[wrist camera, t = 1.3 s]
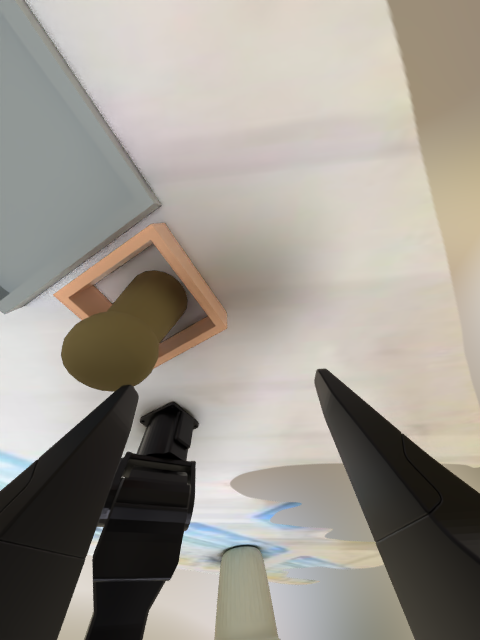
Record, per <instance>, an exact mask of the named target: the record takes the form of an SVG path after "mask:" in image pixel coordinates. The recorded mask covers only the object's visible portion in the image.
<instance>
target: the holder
mask: <svg viewBox="0 0 480 640" xmlns="http://www.w3.org/2000/svg"><path fill="white" fill-rule="evenodd" d="M152 244H154V245H155V246H156V247H157V249H158V250H159V251H160V253H161V254H162V255H163V257H164V258H165V259H166V261H167V262H168V263H169V265H170V266H171V267H172V269H173V270H174V271H175V273H176V274H177V275H178V277H179V278H180V279H181V281H182V282H183V283H184V284H185V286H186V287H187V288H188V290H189V291H190V292H191V294H192V295H193V296H194V298H195V299H196V300H197V302H198V303H199V304H200V306H201V307H202V308H203V310H204V311H205V312H206V314H207V315H208V316H207V317H205V318H204V319H202V320H200V321H198V322H197V323H195V324H193V325H191V326H190V327H188V328H186V329H184V330H183V331H181V332H179V333H177V334H176V335H174V336H172V337H170V338H169V339H167V340H165V341H163V342H162V343H160V344H159V353H158V360H157V362H156V364H155V366H154V368H155V367H157V366H159V365H161V364H163V363H165V362H166V361H168V360H170V359H172V358H174V357H176V356H177V355H179V354H181V353H183V352H185V351H187V350H188V349H190V348H192V347H194V346H196V345H198V344H199V343H201V342H203V341H205V340H207V339H209V338H210V337H212V336H214V335H216V334H218V333H220V332H221V331H223V330H225V329H227V312H226V311H225V309H224V308H223V307H222V305H221V304H220V302H219V301H218V299H217V298H216V296H215V295H214V294H213V292H212V291H211V289H210V288H209V286H208V285H207V284H206V282H205V281H204V279H203V278H202V276H201V275H200V273H199V272H198V271H197V269H196V268H195V266H194V265H193V263H192V262H191V260H190V259H189V258H188V256H187V255H186V253H185V252H184V250H183V249H182V247H181V246H180V245H179V243H178V242H177V240H176V239H175V237H174V236H173V234H172V233H171V232H170V230H169V229H168V227H167V226H166V224H165V223H156V224H150V225H149V226H148V227H146V228H145V229H144V230H142V231H141V232H139V233H138V234H137V235H135V236H134V237H132V238H131V239H130V240H128V241H127V242H125V243H124V244H123V245H121V246H120V247H119V248H117V249H116V250H114V251H113V252H112V253H110V254H109V255H107V256H106V257H105V258H103V259H102V260H101V261H99V262H98V263H96V264H95V265H94V266H92V267H91V268H89V269H88V270H87V271H85V272H84V273H83V274H81V275H80V276H78V277H77V278H76V279H74V280H73V281H71V282H70V283H69V284H67V285H66V286H64V287H63V288H62V289H60V290H59V291H58V292H56V293H55V294H53V296H55V297H56V298H57V299H58V300H59V301H60V302H62V303H63V304H64V305H65V306H66V307H67V308H69V309H70V310H71V311H72V312H73V313H74V314H75V315H77V316H78V317H79V318H80V319H81V320H83V319H86V318H88V317H90V316H92V315H94V314H98V313H101V312H107V311H108V309H109V308H110V307H111V306H112V305H113V304H112V303H111V302H110V301H109V300H108V299H107V298H106V297H105V296H104V295H103V294H102V293H101V292H100V291H98V290H97V289H96V288H95V287H94V286H93V285H94V284H96V283H97V282H99V281H100V280H101V279H103V278H104V277H106V276H107V275H109V274H110V273H112V272H113V271H114V270H116V269H117V268H119V267H120V266H122V265H123V264H124V263H126V262H127V261H129V260H130V259H132V258H133V257H135V256H136V255H137V254H139V253H140V252H142V251H143V250H145V249H146V248H147V247H149V246H150V245H152ZM154 368H153V369H154Z"/></svg>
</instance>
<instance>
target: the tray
mask: <svg viewBox="0 0 480 640" xmlns="http://www.w3.org/2000/svg"><path fill="white" fill-rule="evenodd" d="M160 206H161V203H160V202H159V200H158V199H157V197H156V196H155V194H154V193H153V191H152V190H151V188H150V187H149V185H148V184H147V182H146V181H145V179H144V178H143V176H142V175H141V174H140V172H139V171H138V169H137V168H136V166H135V165H134V163H133V162H132V160H131V159H130V157H129V156H128V154H127V153H126V151H125V150H124V148H123V147H122V145H121V144H120V142H119V141H118V139H117V138H116V136H115V135H114V133H113V132H112V130H111V129H110V127H109V126H108V124H107V123H106V121H105V120H104V118H103V117H102V115H101V114H100V112H99V111H98V109H97V108H96V106H95V105H94V103H93V102H92V101H91V99H90V98H89V96H88V95H87V93H86V92H85V90H84V89H83V87H82V86H81V84H80V83H79V81H78V80H77V78H76V77H75V75H74V74H73V72H72V71H71V69H70V68H69V66H68V65H67V63H66V62H65V60H64V59H63V57H62V56H61V54H60V53H59V51H58V50H57V48H56V47H55V45H54V44H53V42H52V41H51V39H50V38H49V36H48V35H47V33H46V32H45V30H44V29H43V28H42V26H41V25H40V23H39V22H38V20H37V19H36V17H35V16H34V14H33V13H32V11H31V10H30V8H29V7H28V5H27V4H26V2H25V1H24V0H0V311H1V312H2V313H4V314H7V313H9V312H11V311H14V310H16V309H18V308H21V307H23V306H25V305H26V304H28V303H29V302H30V301H32V300H33V299H34V298H36V297H37V296H39V295H40V294H41V293H43V292H44V291H45V290H47V289H48V288H49V287H51V286H52V285H54V284H55V283H56V282H58V281H59V280H60V279H62V278H63V277H64V276H66V275H67V274H69V273H70V272H71V271H73V270H74V269H75V268H77V267H78V266H79V265H81V264H82V263H83V262H85V261H86V260H88V259H89V258H90V257H92V256H93V255H94V254H96V253H97V252H98V251H100V250H101V249H103V248H104V247H105V246H107V245H108V244H109V243H111V242H112V241H113V240H115V239H116V238H118V237H119V236H120V235H122V234H123V233H124V232H126V231H127V230H128V229H130V228H131V227H132V226H134V225H135V224H137V223H138V222H139V221H141V220H142V219H143V218H145V217H146V216H147V215H149V214H150V213H152V212H153V211H154V210H156V209H157V208H158V207H160Z"/></svg>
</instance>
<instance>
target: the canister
mask: <svg viewBox="0 0 480 640" xmlns="http://www.w3.org/2000/svg"><path fill="white" fill-rule="evenodd" d="M215 640H280V639H279V638H278V634H277V628H276V623H275V617H274V612H273V606H272V601H271V596H270V590H269V585H268V580H267V575H266V570H265V565H264V560H263V557H262V554H261V552H260V551H259V549H257V548H255V547H251V546H241V547H236V548H232V549H230V550H228V551H227V552H225V553H224V555H223V557H222V560H221V566H220V577H219V588H218V601H217V613H216V626H215Z"/></svg>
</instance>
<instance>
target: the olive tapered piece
mask: <svg viewBox="0 0 480 640" xmlns="http://www.w3.org/2000/svg"><path fill="white" fill-rule="evenodd" d="M186 308H187V295H186V291H185V290H184V288H183V286H182V285H181V283H180V282H179V281H177V280H176V279H175V278H174V277H173V276H171V275H169V274H167V273H165V272H160V271H145V272H143V273H141V274H139V275H137V276H136V277H135V278H134V280H133V281H132V282H131V283H130V284H129V285H128V287H127V288H126V289H125V290H124V291H123V293H122V294H121V295H120V296H119V297H118V299H117V300H116V301H115V302H114V303H113V305H112V306H111V307H110V308H109V309H108V311H107V312H101V313H98V314H94V315H92V316H90V317H88V318H86V319H83V320H82V321H80V322H79V323H77V324H76V325H75V326H74V327H73V328H72V329H71V331H70V332H69V333H68V334H67V336H66V337H65V339H64V342H63V346H62V352H61V357H62V361H63V365H64V366H65V368H66V369H67V371H68V372H69V374H71V375H72V376H73V377H74V378H75V379H77V380H78V381H79V382H81V383H83V384H85V385H87V386H89V387H91V388H95V389H98V390H102V391H116V390H117V389H118V388H120V387H121V386H123V385H132V386H135V385H137V384H139V383H141V382H142V381H143V380H144V379H145V378H146V377H147V376H148V375H149V374H150V373H151V372H152V370H153V368H154V366H155V364H156V362H157V360H158V353H159V343H160V342H161V341H162V340H163V338H164V337H165V336H166V335H167V333H168V332H169V331H170V330H171V329H172V327H173V326H174V325H175V324H176V322H177V321H178V320H179V319H180V318H181V316H182V315H183V314H184V312H185V310H186Z"/></svg>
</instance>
